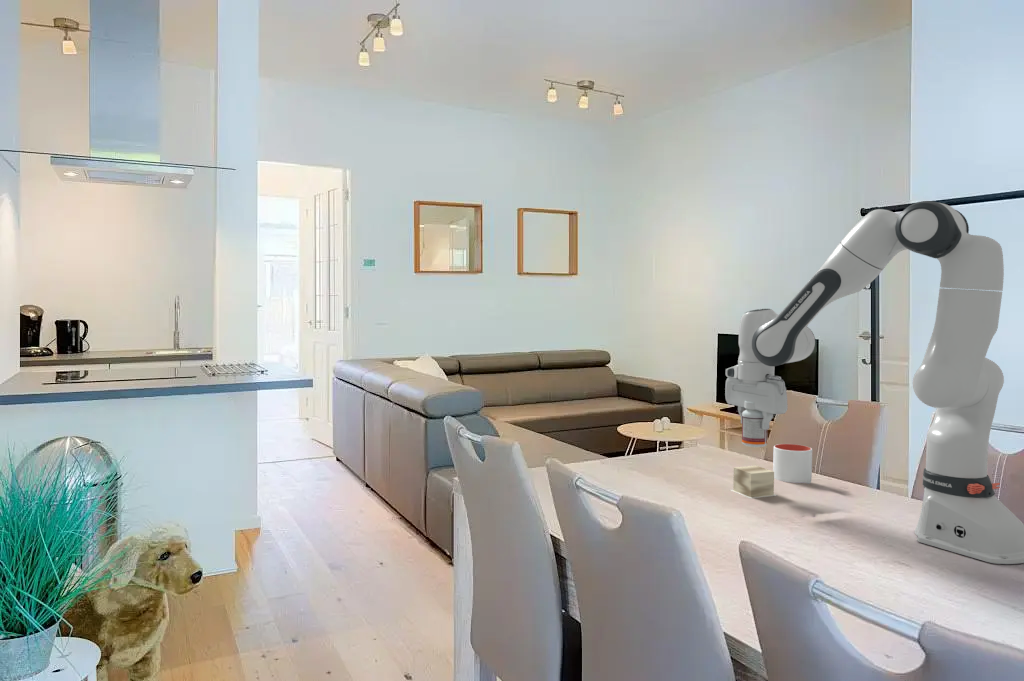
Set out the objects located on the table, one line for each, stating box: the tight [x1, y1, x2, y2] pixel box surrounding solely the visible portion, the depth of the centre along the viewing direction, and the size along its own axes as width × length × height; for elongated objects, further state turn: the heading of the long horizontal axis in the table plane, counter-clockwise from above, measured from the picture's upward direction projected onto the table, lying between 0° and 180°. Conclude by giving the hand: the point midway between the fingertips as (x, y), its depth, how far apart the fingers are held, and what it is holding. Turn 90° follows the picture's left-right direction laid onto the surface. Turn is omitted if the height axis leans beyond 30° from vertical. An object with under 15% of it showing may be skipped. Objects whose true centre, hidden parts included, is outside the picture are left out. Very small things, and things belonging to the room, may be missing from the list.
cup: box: [772, 443, 813, 485], centre depth 197 cm, size 10×10×10 cm
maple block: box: [732, 465, 775, 497], centre depth 182 cm, size 7×7×6 cm
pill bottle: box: [741, 401, 768, 448], centre depth 181 cm, size 6×6×11 cm
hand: (754, 426), depth 181 cm, fingers closed on pill bottle, 6 cm apart
